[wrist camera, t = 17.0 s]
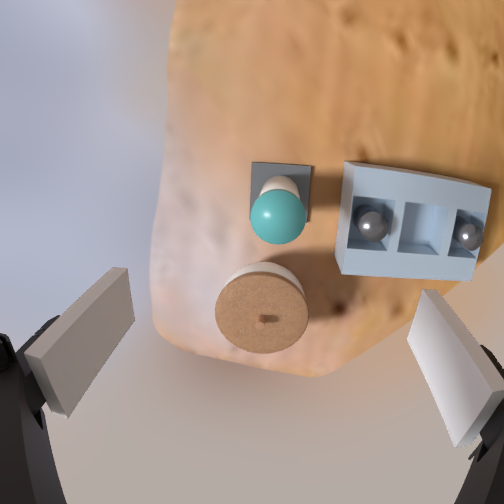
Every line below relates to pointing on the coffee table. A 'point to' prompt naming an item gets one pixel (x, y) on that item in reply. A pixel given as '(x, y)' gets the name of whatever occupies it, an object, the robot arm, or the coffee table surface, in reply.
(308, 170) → the mat
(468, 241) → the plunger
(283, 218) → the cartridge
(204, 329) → the coffee table surface
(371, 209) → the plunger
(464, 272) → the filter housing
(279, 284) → the lidded jar
